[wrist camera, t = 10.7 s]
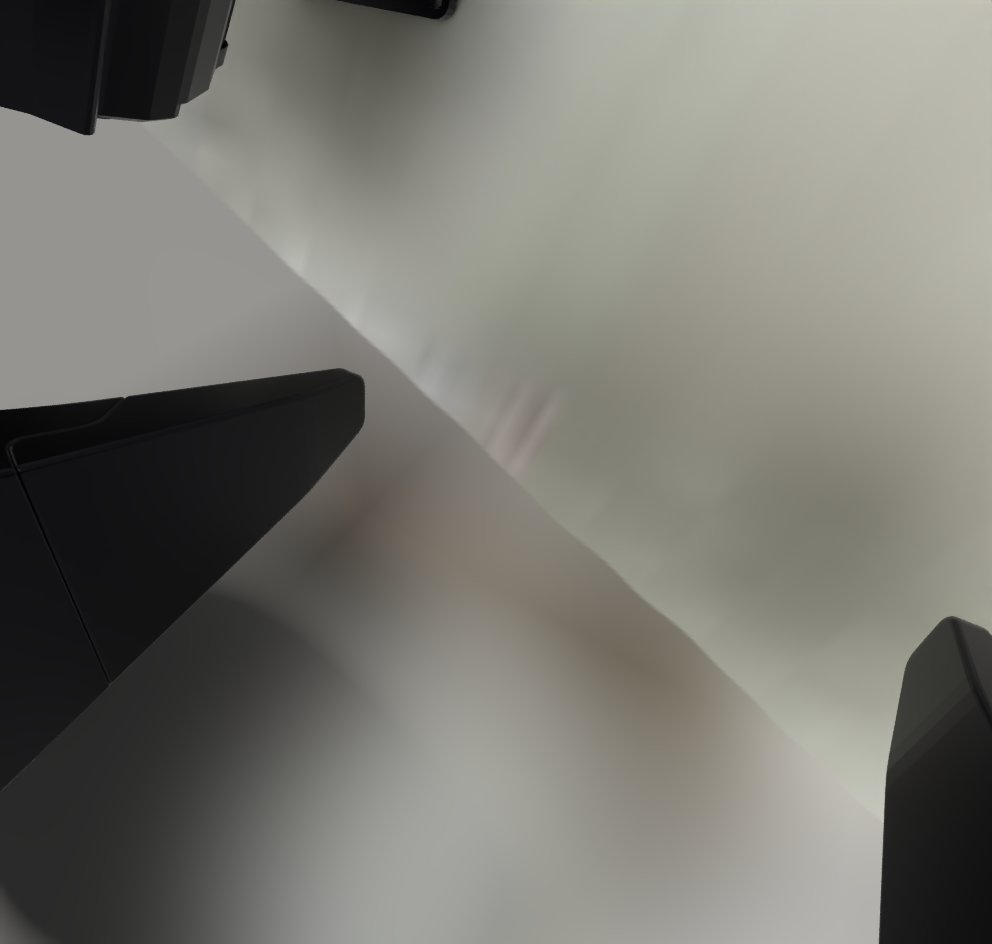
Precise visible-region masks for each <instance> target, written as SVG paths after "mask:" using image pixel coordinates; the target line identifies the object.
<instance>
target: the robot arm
mask: <svg viewBox="0 0 992 944" xmlns="http://www.w3.org/2000/svg"><path fill="white" fill-rule="evenodd" d="M338 1H343V2H348V3H353V4H359V5H364V6H369V7H374V8H379V9H384V10H390V11H395V12H400V13H405V14H410V15H415V16H420V17H426V18H431V19H447V18H449V17H450V16H451V15H452V14H453V12H454V10H455V7H456V2H457V0H443V1H442V5H441V6H440V7H439V8H438V7H437V5H436V2H435V0H338ZM234 4H235V0H0V106H1V107H4V108H8V109H12V110H16V111H20V112H24V113H28V114H31V115H34V116H36V117H39V118H42V119H44V120H46V121H49V122H52V123H54V124H57V125H60V126H62V127H64V128H67V129H70V130H72V131H75V132H77V133H80V134H83V135H93V134H94V133H95V127H96V119H97V118H101V119H118V120H128V121H137V122H146V121H156V120H165V119H172V118H175V117H177V116H178V114H179V110H180V105H181V104H184V103H188V102H189V101H191V100H192V99H194V98H195V97H197V96H199V95H200V94H202V93H203V92H205V91H207V90H208V88H209V86H210V83H211V80H212V77H213V74H214V71H215V69H216V68H218V67H220V66H221V65H222V64H223V62H224V59H225V55H226V51H227V47H228V43H227V41H226V40H225V38H226V35H227V31H228V27H229V23H230V19H231V16H232V12H233V8H234ZM364 419H365V383H364V380H363V378H362V377H361V376H360V375H358V374H355V373H353V372H351V371H348V370H346V369H342V368H337V369H329V370H322V371H314V372H306V373H299V374H291V375H284V376H277V377H269V378H261V379H254V380H247V381H238V382H231V383H224V384H216V385H209V386H201V387H193V388H186V389H178V390H171V391H163V392H155V393H148V394H141V395H133V396H128V397H126V398H123V397H117V398H110V399H102V400H94V401H86V402H78V403H69V404H61V405H52V406H51V405H50V406H40V407H29V408H19V409H6V410H0V792H1V791H2V790H3V789H4V788H5V787H6V786H7V785H8V784H9V783H11V782H12V780H14V779H15V778H16V777H17V776H18V775H19V774H20V773H21V772H22V771H23V770H24V769H25V768H26V767H27V766H28V765H29V764H30V763H31V762H32V761H33V760H34V759H35V758H36V757H37V756H38V755H39V754H40V753H41V752H42V751H43V750H44V749H45V748H47V747H48V746H49V745H50V744H51V742H52V741H54V740H55V739H56V738H57V737H58V736H59V735H60V734H61V733H62V732H63V731H64V730H65V729H66V728H67V727H68V726H69V725H70V724H71V723H72V722H73V721H74V720H75V719H76V718H77V717H78V716H79V715H80V714H81V713H82V712H84V711H85V710H86V709H87V708H88V707H89V706H90V705H91V704H92V703H93V702H94V701H95V700H96V699H97V698H98V697H99V696H100V695H101V694H102V693H103V692H104V691H105V690H106V689H107V688H108V687H109V683H113V682H114V681H115V680H116V679H117V678H118V677H119V676H120V675H121V674H122V673H123V672H124V671H125V670H126V669H127V668H128V667H129V666H130V665H132V663H134V662H135V661H136V660H137V659H138V658H139V657H140V656H141V655H142V654H143V653H144V652H145V651H146V650H147V649H148V648H149V647H150V646H151V645H152V644H153V643H154V642H155V641H156V640H157V639H158V638H159V637H160V636H161V635H162V634H163V633H165V632H166V631H167V629H169V628H170V627H171V626H172V625H173V623H175V622H176V621H177V620H178V619H179V618H180V617H181V616H182V615H183V614H184V613H185V612H186V611H187V610H188V609H189V608H190V607H191V606H192V605H193V604H194V603H195V602H196V601H197V600H198V599H200V598H201V597H202V596H203V595H204V594H205V593H206V592H207V591H208V590H209V589H210V588H211V587H212V586H213V585H214V584H215V583H216V582H217V581H218V580H219V579H220V578H221V577H222V576H223V575H224V574H225V573H226V572H227V571H228V570H229V569H230V568H231V567H232V566H234V564H236V563H237V561H239V560H240V559H241V557H243V556H244V555H245V554H246V553H247V552H248V551H249V550H250V549H251V548H252V547H253V546H254V545H255V544H256V543H257V542H258V541H259V540H260V539H261V538H262V537H263V536H264V535H265V534H266V533H267V532H268V531H270V530H271V528H273V527H274V526H275V524H277V523H278V522H279V521H280V520H281V519H282V518H283V517H284V516H285V515H286V514H287V513H288V512H289V511H290V510H291V509H292V508H293V507H294V506H295V505H296V504H297V503H298V502H299V501H300V500H301V499H302V498H303V497H304V496H305V495H306V494H307V493H308V492H309V491H310V490H311V489H312V488H313V486H315V484H316V483H317V482H318V481H319V480H320V479H321V477H322V476H323V475H324V474H325V473H326V471H327V470H328V469H329V468H330V467H331V465H332V464H333V463H334V462H335V460H336V459H337V458H338V457H339V456H340V454H341V453H342V452H343V451H344V450H345V448H346V447H347V446H348V445H349V444H350V442H351V441H352V440H353V439H354V438H355V436H356V435H357V434H358V433H359V431H360V430H361V428H362V426H363V423H364ZM879 944H992V635H991V634H990V633H989V632H988V631H987V630H986V629H984V628H982V627H980V626H977V625H975V624H972V623H970V622H967V621H965V620H962V619H960V618H958V617H955V616H951V617H946V618H945V619H943V620H942V621H941V622H940V623H939V624H938V625H937V626H936V627H935V628H934V629H933V630H932V632H931V633H930V634H929V635H928V636H927V637H926V638H925V639H924V641H923V642H922V643H921V644H920V645H919V646H918V647H917V649H916V650H915V651H914V652H913V653H912V655H911V656H910V658H909V660H908V662H907V665H906V668H905V672H904V677H903V683H902V688H901V693H900V699H899V704H898V710H897V715H896V720H895V726H894V731H893V737H892V742H891V747H890V753H889V759H888V766H887V773H886V786H885V808H884V832H883V857H882V880H881V904H880V928H879Z"/></svg>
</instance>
